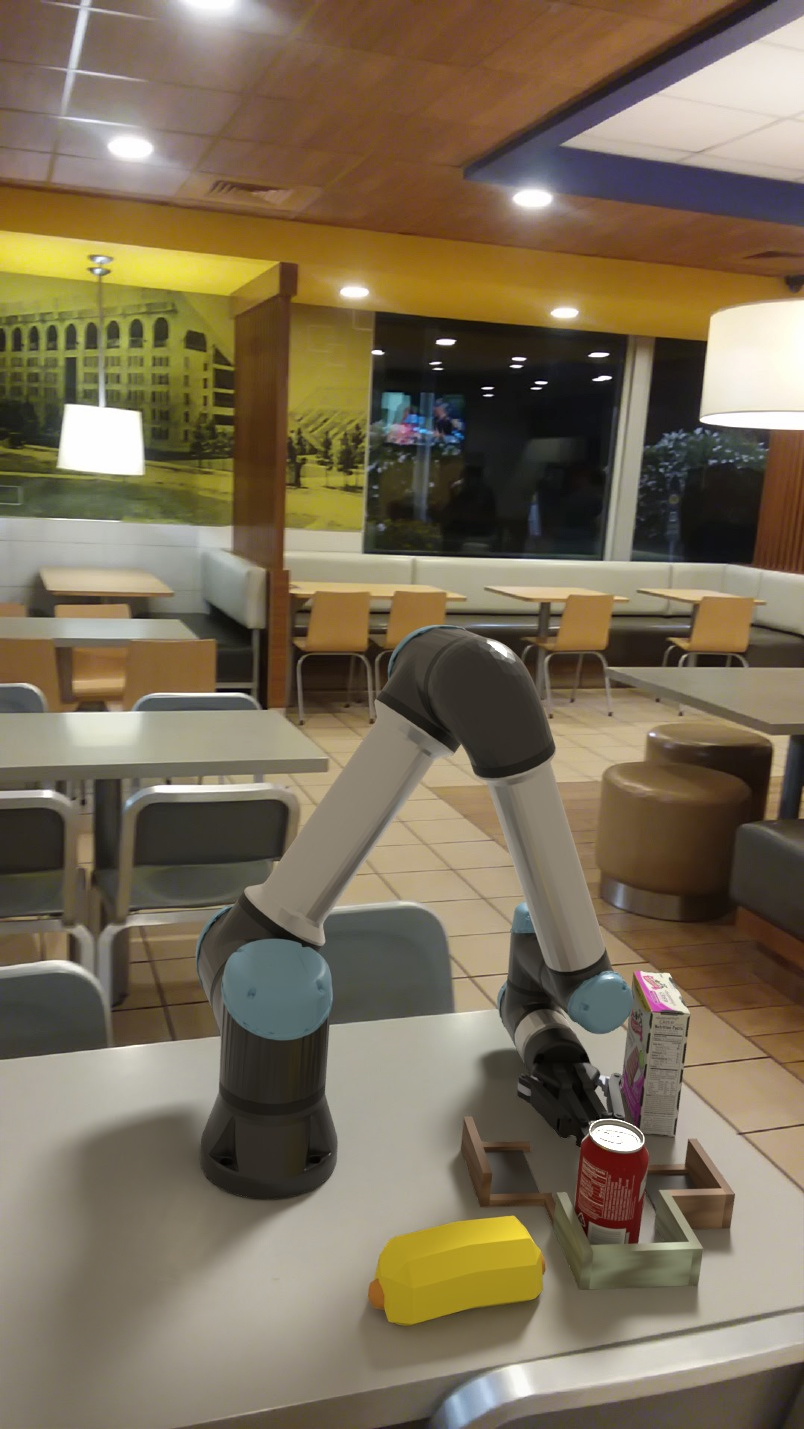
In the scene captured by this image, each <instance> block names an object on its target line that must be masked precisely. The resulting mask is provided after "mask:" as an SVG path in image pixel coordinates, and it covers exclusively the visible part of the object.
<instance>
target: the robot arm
mask: <svg viewBox="0 0 804 1429" xmlns="http://www.w3.org/2000/svg"><path fill="white" fill-rule="evenodd" d="M387 679H388V681H387V682H386V683H385V684H384V686H383V687H382V689H381V690H380V693H379V694H378V695H377V697H376V698H375V700H374V709H375V714H376V720H375V722H374V724H372V726H371V728H370V729H369V731H368V732H367V734H366V735H365V736H364V737H363V739H362V741H361V742H360V744H359V745H358V747H357V748H356V749H355V751H354V752H353V754H352V755H351V757H350V758H349V760H348V761H347V763H346V764H345V766H344V767H343V769H342V770H341V772H340V773H339V774H338V775H337V777H336V779H335V780H334V782H333V783H332V784H331V786H330V787H329V789H328V790H327V792H326V793H325V795H324V796H323V798H322V799H321V800H320V802H319V804H318V805H317V806H316V808H315V809H314V810H313V812H312V814H311V815H310V816H309V818H307V821H306V822H305V823H304V825H303V826H302V828H301V829H300V830H299V833H298V834H296V837H295V838H294V840H293V841H292V843H291V844H290V846H289V847H288V849H287V850H286V852H284V854H283V856H282V857H281V858H280V860H279V862H278V863H277V864H276V866H275V867H274V869H273V870H272V872H271V873H270V874H269V876H268V877H267V879H266V881H264V882H263V883H261V884H255V885H249V886H246V888H244V890H243V891H242V892H241V894H240V896H239V897H238V898H237V900H236V901H235V903H234V904H231V905H229V906H224V907H222V908H221V909H219V910H217V911H216V912H215V913H214V914H213V915H212V916H211V917H210V918H209V919H207V921H206V923H204V925H203V926H202V929H201V931H200V932H199V936H198V938H197V941H196V947H195V967H196V968H195V969H196V973H197V977H198V982H199V984H200V987H201V988H202V990H203V991H204V993H205V995H206V997H207V999H208V1003H209V1005H210V1007H211V1011H212V1013H213V1016H214V1017H215V1022H216V1023H217V1026H218V1029H219V1036H220V1050H219V1051H220V1052H219V1053H220V1054H219V1078H218V1080H219V1082H218V1093H217V1096H216V1098H215V1100H214V1103H213V1106H212V1108H211V1111H210V1113H209V1116H208V1119H207V1120H206V1124H205V1126H204V1129H203V1131H202V1134H201V1138H200V1144H199V1145H200V1149H199V1164H200V1168H201V1170H202V1172H203V1173H204V1175H205V1177H206V1178H207V1179H208V1180H209V1181H210V1182H211V1183H212V1184H214V1185H215V1186H217V1187H218V1188H220V1189H222V1190H224V1192H225V1191H226V1192H228V1193H230V1194H233V1195H237V1196H239V1197H245V1198H249V1199H257V1200H277V1199H286V1198H290V1197H295V1196H299V1195H302V1194H305V1193H307V1192H310V1191H311V1190H313V1189H315V1188H317V1187H319V1186H321V1184H323V1183H324V1182H325V1181H326V1180H328V1179H329V1177H330V1176H331V1175H332V1173H333V1172H334V1171H335V1169H336V1166H337V1159H338V1145H339V1144H338V1143H339V1142H338V1135H337V1134H338V1133H337V1131H336V1128H335V1123H334V1120H333V1117H332V1113H331V1110H330V1106H329V1103H328V1100H327V1096H326V1086H327V1085H326V1084H327V1081H326V1079H327V1071H328V1070H327V1067H328V1057H329V1056H328V1054H329V1040H330V1038H329V1036H330V1024H331V1009H332V1005H333V1003H334V1002H333V1001H334V996H333V992H334V990H333V985H332V975H331V970H330V966H329V964H328V962H327V961H326V960H325V959H324V957H323V956H322V955H321V954H320V953H319V952H320V951H321V949H322V948H323V946H324V945H325V943H326V936H325V931H324V923H325V921H326V919H328V917H329V915H330V913H331V912H332V911H333V910H334V908H335V906H336V905H337V904H338V902H339V901H340V900H341V898H342V897H343V894H344V893H345V891H347V889H348V887H349V886H350V885H351V883H352V882H353V880H354V878H355V877H356V876H357V874H358V873H359V871H360V870H361V869H362V867H363V866H364V864H365V862H366V861H367V860H368V859H369V857H370V855H371V854H372V853H373V851H374V849H375V848H376V847H377V845H378V844H379V843H380V841H381V839H382V838H383V836H384V835H385V834H386V832H387V831H388V829H389V828H390V826H391V825H392V823H393V822H394V820H395V819H396V817H397V816H398V815H399V814H400V811H401V810H402V809H403V807H404V805H406V803H407V802H408V800H409V798H410V797H411V796H412V795H413V793H414V791H415V790H416V789H417V787H418V786H419V784H420V782H421V781H422V780H423V778H424V777H425V776H426V774H427V772H428V771H429V769H430V768H431V767H432V765H433V764H434V762H435V761H437V760H439V759H442V758H447V757H452V756H453V757H454V755H455V754H456V752H457V751H458V749H459V748H460V747H461V746H462V748H463V749H464V751H465V752H466V755H467V757H468V759H469V762H470V765H471V769H472V771H473V774H474V776H475V777H476V778H478V779H480V780H482V781H484V782H485V784H486V786H487V788H488V791H489V795H490V797H491V800H492V804H493V806H494V810H495V812H496V816H497V819H498V821H499V824H500V828H501V831H502V833H503V837H504V841H505V843H506V846H507V849H508V853H509V856H510V859H511V862H512V865H513V867H514V871H515V874H516V877H517V881H518V883H519V886H520V890H521V892H522V896H523V899H524V901H523V902H521V903H519V904H517V905H516V906H515V908H514V911H513V916H512V924H511V928H510V930H509V933H510V938H509V940H510V942H509V952H508V953H509V955H508V967H507V968H508V969H507V975H506V976H507V977H506V978H507V979H506V981H505V982H504V983H503V985H502V986H501V988H500V990H499V991H498V992H497V996H496V997H497V999H496V1006H497V1010H498V1014H499V1018H500V1021H501V1023H502V1025H503V1028H505V1030H506V1031H507V1033H508V1035H509V1037H510V1039H511V1040H512V1044H513V1045H514V1047H515V1048H516V1051H517V1052H518V1054H519V1056H520V1059H521V1060H522V1062H523V1064H524V1066H525V1069H526V1071H527V1073H528V1074H525V1073H521V1074H519V1075H518V1081H517V1092H516V1093H517V1094H516V1096H517V1097H518V1098H520V1099H521V1100H524V1102H526V1103H528V1104H529V1105H530V1106H531V1107H532V1108H533V1109H534V1110H535V1111H536V1113H538V1114H539V1115H540V1116H541V1118H542V1119H543V1120H544V1121H545V1122H546V1123H547V1125H549V1127H550V1128H551V1129H552V1130H553V1131H554V1132H555V1133H556V1134H557V1136H558V1137H559V1138H562V1139H566V1140H567V1139H569V1138H570V1136H572V1137H575V1146H576V1147H577V1148H581V1142H582V1140H583V1138H584V1137H585V1136H586V1135H587V1134H588V1133H589V1128H590V1126H591V1124H593V1123H594V1122H596V1121H598V1120H602V1119H616V1120H621V1121H624V1122H625V1118H626V1114H625V1110H624V1109H625V1108H624V1105H623V1099H622V1095H621V1090H622V1087H621V1082H622V1074H621V1073H617V1072H612V1074H611V1075H610V1076H608V1075H607V1076H605V1075H603V1074H602V1075H601V1071H600V1070H599V1069H598V1068H597V1067H596V1066H594V1065H592V1062H591V1060H590V1058H589V1057H590V1056H589V1054H588V1052H587V1050H586V1049H585V1047H584V1046H583V1044H582V1042H581V1041H580V1039H579V1037H578V1036H577V1034H576V1032H575V1031H574V1029H573V1028H572V1026H571V1024H570V1023H569V1021H568V1020H567V1019H566V1017H565V1015H564V1013H565V1014H566V1015H567V1016H568V1018H569V1019H570V1020H571V1021H572V1022H573V1023H575V1024H577V1025H579V1026H581V1028H583V1029H584V1030H585V1031H586V1032H588V1033H591V1034H595V1035H605V1034H609V1033H611V1032H613V1031H615V1030H616V1029H618V1028H621V1026H622V1025H623V1024H624V1023H625V1022H626V1021H627V1020H628V1018H629V1014H630V1012H631V1009H632V1005H633V994H632V991H631V990H632V988H631V987H630V986H629V984H628V983H627V981H625V979H624V977H622V975H621V974H620V973H618V972H617V971H614V968H613V966H612V964H611V960H610V957H609V953H608V950H607V947H606V944H605V941H604V938H603V934H602V931H601V928H600V924H599V921H598V918H597V914H596V911H595V907H594V904H593V900H592V897H591V895H590V894H591V893H590V890H589V887H588V884H587V880H586V878H585V873H584V870H583V867H582V865H581V864H582V863H581V860H580V856H579V853H578V850H577V847H576V844H575V841H574V837H573V836H574V835H573V834H572V830H571V826H570V823H569V820H568V817H567V816H568V815H567V814H566V809H565V806H564V803H563V799H562V796H561V793H560V789H559V786H558V783H557V779H556V776H555V772H554V770H553V765H552V761H553V759H554V758H555V756H556V752H557V748H556V743H555V741H554V737H553V733H552V729H551V727H550V723H549V720H548V718H547V717H548V716H547V715H546V711H545V709H544V705H543V703H542V699H541V697H540V694H539V692H538V689H537V687H536V684H535V682H534V680H533V678H532V676H531V674H530V672H529V669H528V668H527V666H526V665H525V664H524V662H523V660H522V659H521V657H519V656H518V655H517V654H516V652H514V651H513V649H511V648H510V647H508V646H507V645H505V644H504V643H502V642H500V641H499V640H496V639H493V638H490V637H489V638H488V637H485V636H482V635H479V634H477V633H474V632H472V631H469V630H466V628H464V627H459V626H457V625H450V624H449V625H448V624H446V625H445V624H433V625H432V624H431V625H426V626H423V627H420V628H417V629H416V630H413V631H412V632H410V633H409V634H407V635H406V636H405V637H403V639H401V640H400V642H399V643H398V644H397V645H396V647H395V648H394V650H393V651H392V653H391V656H390V659H389V662H388V665H387ZM563 1012H564V1013H563ZM598 1087H600V1089H601V1091H602V1092H603V1097H605V1098H606V1101H605V1102H606V1107H605V1105H604V1104H603V1103H602V1102H603V1101H602V1100H601V1099H600V1097H599V1095H598V1093H597V1092H596V1090H597V1089H598Z"/></svg>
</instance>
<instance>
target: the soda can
mask: <svg viewBox="0 0 804 1429" xmlns="http://www.w3.org/2000/svg"><path fill="white" fill-rule="evenodd" d="M579 1148H580V1147H579ZM578 1157H579V1159H578V1166H577V1168H578V1169H577V1175H576V1176H577V1177H576V1182H575V1184H576V1185H575V1194H574V1203H573V1204H574V1205H573V1208H574V1210H575V1213H576V1215H577V1217H578V1219H579V1222H580V1224H581V1226H582V1228H583V1230H584V1233H585V1235H586V1237H587V1239H588V1241H589V1244H590V1245H609V1244H639V1243H640V1242H639V1241H640V1234H641V1225H642V1218H643V1209H644V1202H645V1195H646V1192H645V1187H646V1179H647V1171H648V1165H649V1164H650V1163H649V1162H650V1154H649V1151H648V1149H647V1147H646V1145H645V1135H643V1134H642V1132H641V1131H640V1130H639V1129H638V1128H636V1127H635V1125H633V1124H631V1123H629V1122H626V1121H625V1120H624V1121H621V1120H616V1119H602V1120H598V1121H596V1122H594V1123H593V1124H591V1126H590V1128H589V1133H588V1134H587V1135H586V1136H585V1137H584V1138H583V1140H582V1142H581V1148H580V1150H579V1156H578Z"/></svg>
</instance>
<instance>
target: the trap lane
mask: <svg viewBox="0 0 804 1429" xmlns="http://www.w3.org/2000/svg"><path fill="white" fill-rule="evenodd" d="M460 1149H461V1153H462V1156H463V1160H464V1162H465V1165H466V1168H467V1172H468V1175H469V1178H470V1181H471V1183H472V1187H473V1190H474V1193H475V1196H476V1199H477V1202H478V1205H479V1208H497V1207H498V1208H501V1207H503V1208H505V1207H535V1206H544V1209H545V1211H546V1214H547V1217H548V1218H549V1221H550V1223H551V1226H552V1228H553V1230H554V1233H555V1235H556V1238H557V1240H558V1243H559V1246H560V1247H561V1250H562V1252H563V1255H564V1256H565V1259H566V1261H567V1262H566V1263H567V1264H568V1266H569V1269H570V1272H571V1274H572V1276H573V1278H574V1280H575V1284H576V1285H577V1288H578V1290H583V1291H584V1290H604V1289H606V1290H609V1289H630V1288H634V1289H635V1288H654V1287H655V1288H656V1287H678V1286H679V1287H680V1286H683V1287H684V1286H698V1285H699V1281H700V1275H701V1266H702V1261H703V1255H704V1254H703V1252H704V1248H703V1246H702V1244H701V1243H700V1242H701V1241H699V1239H698V1237H697V1236H696V1234H695V1233H694V1230H713V1229H715V1230H716V1229H717V1230H718V1229H731V1225H732V1218H733V1212H734V1206H735V1205H734V1204H735V1198H736V1193H735V1191H734V1190H733V1189H732V1187H731V1186H730V1184H729V1183H728V1181H727V1180H726V1178H725V1177H724V1176H723V1174H722V1173H721V1172H720V1170H719V1169H718V1167H717V1165H716V1164H715V1163H714V1162H713V1160H712V1159H711V1157H710V1156H709V1154H708V1153H707V1151H706V1150H705V1149H704V1147H703V1146H702V1144H701V1143H700V1142H699V1140H698V1138H688V1139H687V1146H686V1153H685V1160H684V1163H671V1164H670V1163H669V1164H665V1163H664V1164H648V1171H647V1179H646V1187H645V1195H646V1196H647V1197H648V1199H649V1201H650V1203H651V1204H652V1206H653V1209H654V1210H655V1216H654V1224H653V1225H654V1226H655V1228H656V1229H657V1231H658V1233H659V1235H660V1236H661V1238H662V1241H663V1242H648V1243H647V1242H645V1243H643V1242H641V1243H640V1242H638V1244H609V1245H590V1244H589V1241H588V1239H587V1237H586V1235H585V1233H584V1230H583V1228H582V1226H581V1224H580V1222H579V1219H578V1217H577V1215H576V1213H575V1210H574V1205H573V1204H572V1202H571V1199H570V1197H569V1195H568V1193H567V1192H556V1198H554V1196H553V1193H552V1192H541V1191H540V1190H539V1187H538V1184H537V1181H536V1180H535V1177H534V1175H533V1172H532V1170H531V1168H530V1165H529V1162H528V1161H527V1158H526V1155H525V1154H524V1153H531V1151H532V1145H531V1142H530V1141H529V1140H516V1141H515V1140H513V1141H509V1140H507V1141H502V1140H501V1141H482V1139H481V1137H480V1135H479V1132H478V1129H477V1126H476V1123H475V1121H474V1118H473V1116H463V1122H462V1133H461V1145H460Z"/></svg>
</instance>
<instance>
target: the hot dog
mask: <svg viewBox="0 0 804 1429" xmlns="http://www.w3.org/2000/svg"><path fill="white" fill-rule="evenodd" d="M377 1261H378V1262H377V1266H376V1269H375V1270H376V1271H375V1273H374V1279H373V1280H372V1281H371V1282H369V1286H368V1292H367V1298H368V1299H367V1300H368V1301H369V1303H370V1305H371V1306H372V1308H373V1309H378V1310H381V1311H385V1314H386V1319H387V1322H389V1323H392V1324H395V1325H399V1326H403V1327H408V1326H409V1327H410V1326H412V1325H415V1324H420V1323H422V1322H427V1321H429V1320H430V1321H431V1320H433V1319H437V1318H440V1317H444V1316H445V1317H446V1316H448V1315H451V1314H455V1313H459V1312H462V1311H463V1312H464V1311H466V1310H471V1309H472V1310H473V1309H479V1308H480V1309H481V1308H486V1307H494V1306H502V1305H503V1306H504V1305H509V1304H515V1303H522V1302H529V1301H531V1300H535V1299H536V1298H537V1297H538V1296H539V1295H540V1294H541V1292H543V1291H544V1278H543V1276H544V1275H545V1273H546V1270H547V1268H546V1261H545V1257H544V1255H543V1253H542V1250H541V1249H540V1248H539V1246H537V1244H536V1243H535V1241H534V1240H533V1238H532V1236H531V1235H530V1233H529V1231H528V1229H527V1227H526V1226H525V1225H523V1223H521V1221H520V1220H519V1219H518V1218H517V1217H516V1215H505V1216H498V1217H485V1218H479V1219H467V1220H458V1221H457V1220H456V1221H453V1222H448V1223H446V1224H440V1225H436V1226H433V1227H429V1228H424V1229H420V1230H416V1231H413V1232H409V1233H404V1234H400V1235H396V1236H394V1237H392V1238H389V1239H388V1240H387V1242H386V1244H385V1246H384V1247H383V1249H382V1250H381V1252H380V1254H379V1257H378V1260H377Z"/></svg>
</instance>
